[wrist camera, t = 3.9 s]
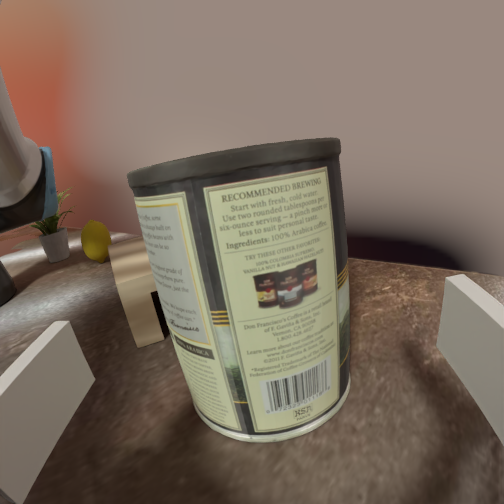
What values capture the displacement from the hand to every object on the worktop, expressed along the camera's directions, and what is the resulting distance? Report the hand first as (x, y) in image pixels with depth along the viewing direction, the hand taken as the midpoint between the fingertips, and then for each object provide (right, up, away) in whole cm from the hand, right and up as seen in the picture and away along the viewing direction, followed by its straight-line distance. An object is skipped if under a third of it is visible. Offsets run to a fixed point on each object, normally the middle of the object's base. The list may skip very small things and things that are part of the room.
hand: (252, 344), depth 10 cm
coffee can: (+1, -6, +9) cm, 11 cm away
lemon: (-27, +1, +43) cm, 51 cm away
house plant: (-42, +1, +52) cm, 67 cm away
